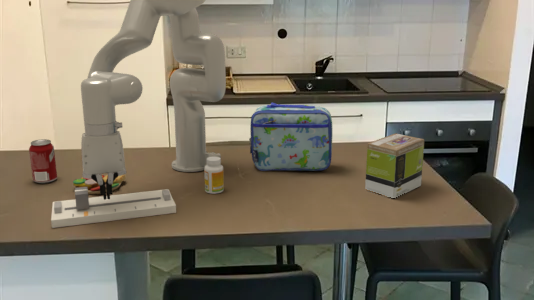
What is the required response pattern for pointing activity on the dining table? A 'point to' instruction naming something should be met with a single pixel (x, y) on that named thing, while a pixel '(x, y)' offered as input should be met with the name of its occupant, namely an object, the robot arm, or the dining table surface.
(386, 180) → the tea box
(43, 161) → the soda can
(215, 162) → the supplement bottle
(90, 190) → the toy food set
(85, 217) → the console board
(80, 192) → the fader knob
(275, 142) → the lunch box
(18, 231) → the dining table surface
